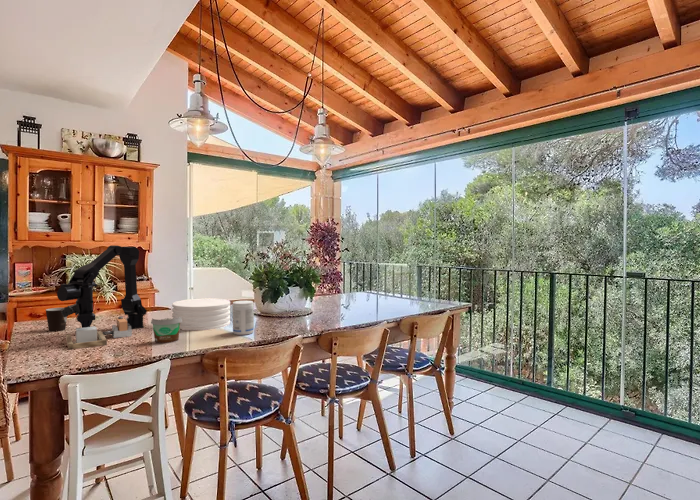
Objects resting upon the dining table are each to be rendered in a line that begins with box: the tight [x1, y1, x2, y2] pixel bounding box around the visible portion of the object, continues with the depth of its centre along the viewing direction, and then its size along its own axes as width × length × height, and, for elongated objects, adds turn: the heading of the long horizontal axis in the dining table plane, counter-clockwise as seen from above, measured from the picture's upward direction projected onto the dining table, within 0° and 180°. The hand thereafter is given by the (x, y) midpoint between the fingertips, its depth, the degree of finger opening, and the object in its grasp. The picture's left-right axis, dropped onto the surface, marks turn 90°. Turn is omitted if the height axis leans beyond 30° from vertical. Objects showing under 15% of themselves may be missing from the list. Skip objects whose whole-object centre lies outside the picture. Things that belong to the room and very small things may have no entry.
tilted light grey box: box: [75, 325, 98, 343], centre depth 173 cm, size 7×7×6 cm
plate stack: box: [171, 297, 231, 331], centre depth 213 cm, size 28×28×12 cm
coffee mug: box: [45, 307, 68, 333], centre depth 197 cm, size 12×9×10 cm
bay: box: [65, 330, 108, 350], centre depth 175 cm, size 13×20×2 cm, turn 37°
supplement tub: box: [232, 300, 255, 336], centre depth 195 cm, size 10×10×15 cm
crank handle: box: [116, 315, 127, 331], centre depth 187 cm, size 3×9×5 cm, turn 37°
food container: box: [150, 317, 182, 344], centre depth 177 cm, size 12×6×10 cm, turn 117°
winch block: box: [102, 323, 133, 339], centre depth 186 cm, size 11×7×4 cm, turn 127°
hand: (85, 334), depth 177 cm, fingers closed
